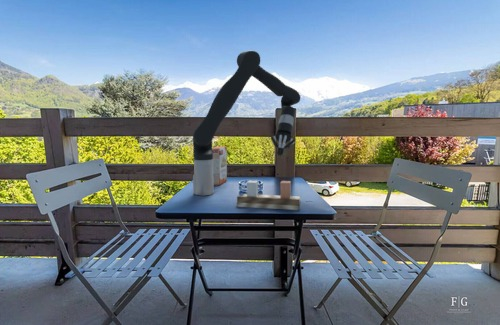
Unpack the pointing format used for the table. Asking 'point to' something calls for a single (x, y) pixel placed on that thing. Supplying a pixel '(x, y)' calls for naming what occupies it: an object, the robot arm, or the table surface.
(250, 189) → the white rectangular block
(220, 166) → the cracker box
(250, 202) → the press stand
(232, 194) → the table surface
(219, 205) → the table surface
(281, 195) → the terracotta plug
